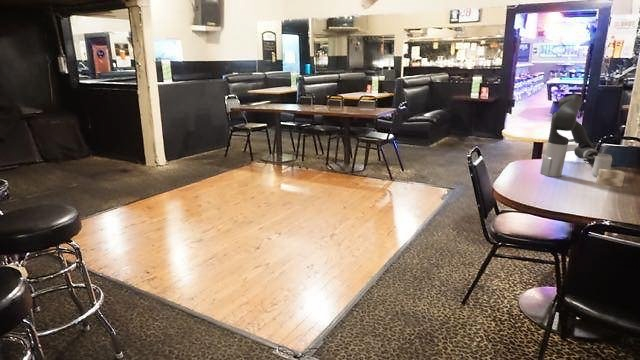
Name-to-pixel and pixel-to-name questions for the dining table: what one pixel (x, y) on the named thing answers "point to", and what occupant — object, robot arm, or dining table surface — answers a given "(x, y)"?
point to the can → (601, 163)
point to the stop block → (610, 177)
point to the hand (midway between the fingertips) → (601, 163)
